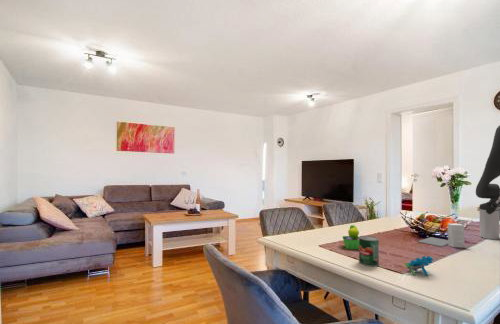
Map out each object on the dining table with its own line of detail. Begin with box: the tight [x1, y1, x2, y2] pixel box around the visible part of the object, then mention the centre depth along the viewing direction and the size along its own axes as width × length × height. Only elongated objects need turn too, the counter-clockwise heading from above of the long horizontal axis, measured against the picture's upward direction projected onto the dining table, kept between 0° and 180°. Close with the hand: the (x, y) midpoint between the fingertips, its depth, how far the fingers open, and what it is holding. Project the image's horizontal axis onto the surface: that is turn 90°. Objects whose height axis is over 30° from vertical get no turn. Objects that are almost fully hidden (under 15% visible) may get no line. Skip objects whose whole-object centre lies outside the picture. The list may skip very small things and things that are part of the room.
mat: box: [417, 236, 449, 248], centre depth 156 cm, size 18×12×1 cm, turn 125°
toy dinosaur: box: [404, 255, 434, 276], centre depth 108 cm, size 11×6×10 cm
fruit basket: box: [341, 224, 360, 251], centre depth 143 cm, size 11×9×11 cm
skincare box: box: [447, 223, 466, 249], centre depth 148 cm, size 6×4×12 cm
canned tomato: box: [358, 235, 380, 267], centre depth 119 cm, size 8×8×11 cm
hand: (487, 212), depth 137 cm, fingers closed
